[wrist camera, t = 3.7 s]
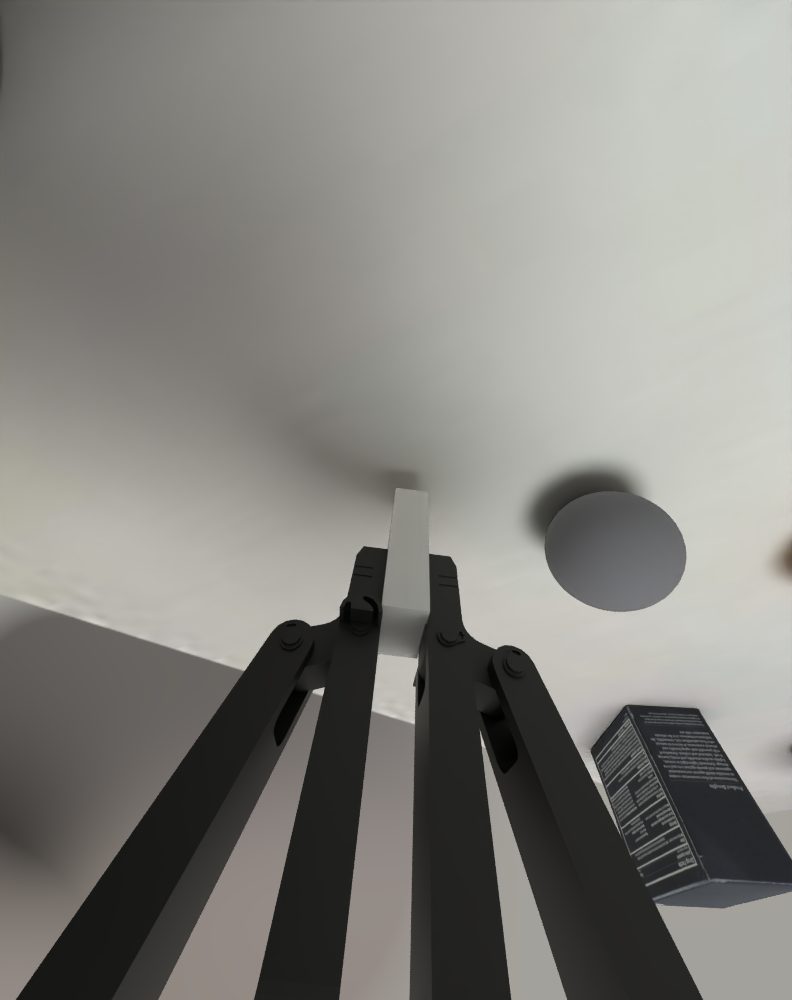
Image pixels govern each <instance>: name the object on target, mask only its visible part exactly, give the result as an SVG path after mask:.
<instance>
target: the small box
mask: <svg viewBox="0 0 792 1000" xmlns="http://www.w3.org/2000/svg"><path fill="white" fill-rule="evenodd" d="M591 754H592V756H593V759H594V762H595V764H596V767H597V770H598V772H599V775H600V778H601V780H602V783H603V785H604V788H605V791H606V794H607V796H608V799H609V802H610V805H611V808H612V810H613V813H614V816H615V818H616V822H617V825H618V828H619V831H620V834H621V837H622V839H623V842H624V844H625V846H626V848H627V849H628V851H629V853H630V855H631V857H632V859H633V861H634V863H635V865H636V867H637V869H638V871H639V873H640V875H641V877H642V879H643V881H644V883H645V885H646V887H647V889H648V891H649V893H650V895H651V897H652V899H653V901H654V903H655V905H667V906H668V905H669V906H687V907H707V908H726V907H730V906H734V905H738V904H742V903H747V902H751V901H755V900H759V899H763V898H767V897H771V896H775V895H779V894H783V893H787V892H791V891H792V859H791V858H790V856H789V854H788V853H787V851H786V850H785V848H784V846H783V845H782V843H781V842H780V840H779V839H778V837H777V835H776V834H775V832H774V831H773V829H772V827H771V826H770V824H769V822H768V821H767V819H766V818H765V816H764V814H763V813H762V811H761V810H760V808H759V806H758V805H757V803H756V802H755V800H754V798H753V797H752V795H751V794H750V792H749V790H748V789H747V787H746V786H745V784H744V782H743V781H742V779H741V778H740V776H739V774H738V773H737V771H736V770H735V768H734V766H733V765H732V763H731V762H730V760H729V758H728V757H727V755H726V753H725V752H724V750H723V749H722V747H721V745H720V744H719V742H718V740H717V739H716V737H715V736H714V734H713V732H712V731H711V729H710V727H709V726H708V724H707V723H706V721H705V719H704V718H703V716H702V715H701V713H700V711H699V710H698V709H693V708H673V707H655V706H635V705H627V706H625V708H624V709H623V710H622V712H621V713H620V714H619V715H618V717H617V718H616V719H615V721H614V722H613V723H612V724H611V726H610V727H609V728H608V730H607V731H606V732H605V734H604V735H603V736H602V737H601V739H600V740H599V741H598V742H597V744H596V745H595V746H594V748H593V749H592V750H591Z"/></svg>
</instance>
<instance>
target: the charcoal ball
mask: <svg viewBox="0 0 792 1000" xmlns="http://www.w3.org/2000/svg"><path fill="white" fill-rule="evenodd" d="M545 555H546V560H547V563H548V566H549V569H550V571H551V573H552V575H553V576H554V578H555V579H556V581H557V582H558V583H559V584H560V586H561V587H562V588H563V589H564V590H565V591H566V592H568V593H569V594H570V595H572V596H573V597H574V598H576V599H577V600H579V601H581V602H583V603H585V604H587V605H589V606H592V607H595V608H598V609H602V610H607V611H614V612H627V611H635V610H640V609H644V608H647V607H650V606H652V605H654V604H656V603H658V602H659V601H661V600H663V599H664V598H665V597H667V596H668V595H669V594H670V593H671V592H672V591H673V590H674V588H675V587H676V586H677V585H678V583H679V582H680V580H681V578H682V575H683V573H684V570H685V564H686V547H685V543H684V540H683V536H682V534H681V532H680V530H679V528H678V527H677V525H676V523H675V522H674V521H673V520H672V518H671V517H670V516H669V515H668V514H667V513H666V512H665V511H664V510H662V509H661V508H660V507H658V506H657V505H656V504H654V503H652V502H651V501H649V500H647V499H645V498H642V497H640V496H637V495H634V494H630V493H625V492H619V491H601V492H594V493H590V494H587V495H584V496H581V497H579V498H577V499H575V500H573V501H571V502H570V503H568V504H567V505H565V506H564V507H563V508H562V509H561V510H560V511H559V512H558V513H557V514H556V515H555V517H554V518H553V520H552V521H551V523H550V525H549V527H548V530H547V533H546V537H545Z"/></svg>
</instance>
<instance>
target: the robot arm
mask: <svg viewBox="0 0 792 1000" xmlns="http://www.w3.org/2000/svg"><path fill="white" fill-rule="evenodd" d="M418 653H419V657H418V669H417V672H416V676H415V679H414V683H413V686H415V687H416V703H415V757H414V804H413V805H414V806H413V856H412V859H413V860H412V907H411V910H412V911H411V956H410V957H411V958H410V1000H511V994H510V985H509V977H508V968H507V960H506V951H505V943H504V934H503V926H502V917H501V908H500V900H499V891H498V883H497V874H496V866H495V858H494V850H493V841H492V832H491V823H490V815H489V806H488V798H487V790H486V781H485V772H484V763H483V755H482V746H481V738H480V731H481V734H482V738H483V741H484V744H485V747H486V750H487V753H488V756H489V759H490V762H491V765H492V768H493V771H494V775H495V777H496V781H497V783H498V787H499V790H500V793H501V796H502V799H503V802H504V806H505V809H506V812H507V814H508V818H509V821H510V824H511V827H512V830H513V833H514V836H515V839H516V843H517V846H518V849H519V852H520V855H521V858H522V861H523V864H524V867H525V870H526V873H527V877H528V880H529V883H530V886H531V889H532V892H533V895H534V898H535V901H536V904H537V907H538V911H539V913H540V917H541V920H542V923H543V926H544V929H545V932H546V935H547V938H548V941H549V945H550V948H551V951H552V954H553V957H554V960H555V963H556V966H557V969H558V972H559V975H560V978H561V982H562V985H563V988H564V991H565V993H566V997H567V1000H703V999H702V997H701V995H700V993H699V991H698V989H697V987H696V985H695V983H694V981H693V979H692V977H691V975H690V973H689V971H688V969H687V967H686V965H685V963H684V961H683V959H682V957H681V955H680V953H679V951H678V949H677V947H676V945H675V943H674V941H673V939H672V937H671V935H670V933H669V931H668V929H667V927H666V925H665V923H664V921H663V920H662V917H661V916H660V913H659V911H658V909H657V907H656V905H655V903H654V901H653V899H652V897H651V895H650V893H649V891H648V889H647V887H646V885H645V883H644V881H643V879H642V877H641V875H640V873H639V871H638V869H637V867H636V865H635V863H634V861H633V859H632V857H631V855H630V853H629V851H628V849H627V848H626V846H625V844H624V842H623V840H622V838H621V836H620V834H619V832H618V830H617V828H616V826H615V824H614V822H613V820H612V818H611V816H610V814H609V812H608V810H607V808H606V806H605V804H604V802H603V800H602V798H601V796H600V794H599V792H598V790H597V788H596V786H595V784H594V782H593V780H592V778H591V776H590V774H589V772H588V770H587V768H586V766H585V764H584V762H583V760H582V758H581V756H580V754H579V752H578V750H577V748H576V746H575V744H574V742H573V740H572V738H571V736H570V734H569V732H568V730H567V728H566V726H565V724H564V722H563V720H562V718H561V716H560V714H559V712H558V710H557V708H556V706H555V704H554V702H553V700H552V698H551V697H550V695H549V693H548V691H547V689H546V687H545V685H544V683H543V681H542V679H541V677H540V675H539V673H538V671H537V669H536V667H535V665H534V663H533V661H532V660H531V659H530V657H529V656H528V655H527V654H526V653H525V652H523V651H522V650H521V649H519V648H516V647H514V646H508V645H504V646H501V647H499V648H498V649H497V650H496V649H493V648H491V647H489V646H486V645H484V644H482V643H480V642H478V641H476V640H475V639H474V638H473V637H471V636H470V635H469V633H468V632H467V631H466V629H465V627H464V625H463V622H462V615H461V606H460V596H459V588H458V580H457V568H456V565H455V564H454V562H453V560H452V559H451V557H449V556H441V555H434V554H429V531H428V492H425V491H417V490H409V489H402V488H396V490H395V497H394V505H393V512H392V520H391V527H390V535H389V543H388V549H381V548H373V547H366V546H364V547H363V548H362V549H361V550H360V552H359V553H358V554H357V556H356V561H355V565H354V569H353V574H352V578H351V583H350V587H349V592H348V596H347V597H346V598H345V599H344V600H343V602H342V604H341V606H340V616H339V617H338V618H337V619H335V620H334V621H332V622H330V623H326V624H322V625H317V626H311V627H310V625H309V624H307V623H306V622H304V621H301V620H289V621H285V622H284V623H282V624H280V625H278V626H277V627H276V628H275V629H274V630H273V631H272V633H271V634H270V636H269V637H268V638H267V640H266V641H265V643H264V644H263V646H262V647H261V648H260V650H259V651H258V653H257V654H256V656H255V657H254V658H253V660H252V661H251V663H250V664H249V666H248V667H247V669H246V670H245V671H244V673H243V674H242V676H241V677H240V679H239V680H238V681H237V683H236V684H235V686H234V687H233V689H232V690H231V692H230V693H229V694H228V696H227V697H226V699H225V700H224V702H223V703H222V705H221V706H220V707H219V709H218V710H217V712H216V713H215V714H214V716H213V718H212V719H211V720H210V722H209V723H208V725H207V726H206V727H205V729H204V730H203V732H202V733H201V735H200V736H199V737H198V739H197V740H196V742H195V743H194V745H193V746H192V748H191V749H190V750H189V752H188V754H187V755H186V756H185V758H184V759H183V760H182V762H181V763H180V765H179V766H178V768H177V769H176V771H175V772H174V773H173V775H172V776H171V778H170V779H169V781H168V782H167V783H166V785H165V786H164V788H163V789H162V791H161V792H160V793H159V795H158V796H157V798H156V799H155V801H154V802H153V804H152V805H151V807H150V808H149V809H148V811H147V812H146V814H145V815H144V816H143V818H142V819H141V821H140V822H139V824H138V825H137V826H136V828H135V829H134V831H133V832H132V834H131V835H130V837H129V838H128V839H127V841H126V842H125V844H124V845H123V847H122V848H121V849H120V851H119V852H118V854H117V855H116V857H115V858H114V860H113V861H112V862H111V864H110V865H109V867H108V868H107V870H106V871H105V872H104V874H103V875H102V877H101V878H100V880H99V881H98V882H97V884H96V886H95V887H94V888H93V890H92V891H91V893H90V894H89V895H88V897H87V898H86V900H85V901H84V903H83V904H82V906H81V907H80V909H79V910H78V911H77V913H76V914H75V916H74V917H73V918H72V920H71V921H70V923H69V924H68V926H67V927H66V928H65V930H64V931H63V933H62V934H61V936H60V937H59V938H58V940H57V941H56V943H55V944H54V946H53V947H52V949H51V950H50V951H49V953H48V954H47V956H46V957H45V959H44V960H43V962H42V963H41V964H40V966H39V967H38V969H37V970H36V972H35V973H34V974H33V976H32V977H31V979H30V980H29V982H28V983H27V985H26V986H25V987H24V989H23V990H22V992H21V993H20V995H19V996H18V998H17V999H16V1000H158V999H159V997H160V995H161V993H162V991H163V989H164V987H165V985H166V983H167V981H168V979H169V977H170V975H171V973H172V971H173V969H174V967H175V965H176V963H177V961H178V959H179V957H180V955H181V953H182V951H183V949H184V947H185V945H186V943H187V941H188V939H189V937H190V935H191V933H192V931H193V929H194V927H195V925H196V923H197V921H198V919H199V917H200V915H201V913H202V911H203V909H204V907H205V905H206V903H207V901H208V899H209V897H210V895H211V893H212V891H213V889H214V887H215V885H216V883H217V881H218V879H219V877H220V875H221V873H222V871H223V869H224V867H225V865H226V863H227V861H228V859H229V857H230V855H231V853H232V851H233V849H234V847H235V845H236V843H237V841H238V839H239V837H240V835H241V833H242V831H243V829H244V827H245V825H246V823H247V821H248V819H249V817H250V815H251V813H252V811H253V809H254V807H255V805H256V803H257V801H258V799H259V797H260V795H261V793H262V791H263V789H264V787H265V785H266V783H267V781H268V779H269V777H270V775H271V773H272V771H273V769H274V767H275V765H276V763H277V761H278V759H279V757H280V755H281V753H282V751H283V749H284V747H285V745H286V743H287V741H288V739H289V737H290V735H291V733H292V731H293V729H294V727H295V725H296V723H297V721H298V719H299V717H300V715H301V713H302V711H303V709H304V707H305V705H306V703H307V701H308V699H309V697H310V695H311V693H312V691H313V690H314V689H319V688H323V687H325V689H324V694H323V698H322V703H321V707H320V712H319V716H318V721H317V725H316V729H315V734H314V739H313V743H312V747H311V752H310V756H309V761H308V765H307V769H306V774H305V778H304V783H303V787H302V792H301V796H300V801H299V805H298V809H297V813H296V818H295V823H294V827H293V832H292V836H291V840H290V845H289V849H288V853H287V858H286V862H285V867H284V871H283V876H282V880H281V884H280V889H279V894H278V898H277V902H276V906H275V911H274V916H273V920H272V924H271V929H270V933H269V937H268V942H267V946H266V951H265V955H264V960H263V964H262V969H261V973H260V977H259V982H258V986H257V990H256V994H255V998H254V1000H339V994H340V986H341V977H342V968H343V958H344V950H345V941H346V932H347V923H348V914H349V905H350V897H351V888H352V878H353V869H354V860H355V852H356V843H357V834H358V825H359V816H360V807H361V798H362V789H363V780H364V770H365V762H366V753H367V744H368V735H369V727H370V717H371V709H372V700H373V691H374V682H375V673H376V664H377V655H378V654H385V655H393V656H401V657H409V658H417V656H418ZM479 728H480V729H479Z"/></svg>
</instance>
